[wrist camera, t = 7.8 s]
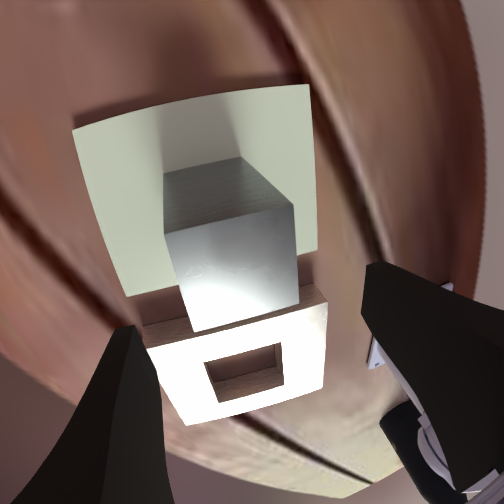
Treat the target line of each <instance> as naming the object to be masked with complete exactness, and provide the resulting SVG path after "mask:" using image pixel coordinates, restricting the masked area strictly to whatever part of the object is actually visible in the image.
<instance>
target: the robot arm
mask: <svg viewBox="0 0 504 504" xmlns="http://www.w3.org/2000/svg"><path fill="white" fill-rule="evenodd" d="M452 289H453V284H452V283H451V282H450V283H447V284H445V285H443V286H439V285H437V284H434V283H432V282H430V281H428V280H426V279H424V278H421V277H419V276H417V275H415V274H413V273H411V272H408V271H406V270H404V269H402V268H400V267H397V266H395V265H393V264H390V263H387V262H385V261H379V262H375V263H372V264H369V265H366V275H365V284H364V292H363V300H362V308H361V315H362V317H363V318H364V320H365V322H366V324H367V326H368V328H369V329H370V331H371V333H372V334H373V336H374V337H373V342H372V346H371V351H370V355H369V360H368V364H367V367H368V369H373V368H376V367H378V366H380V365H382V364H386V365H387V367H388V368H389V369H390V371H391V372H392V373H393V375H394V376H395V378H396V379H397V380H398V382H399V383H400V385H401V386H402V387H403V389H404V390H405V392H406V393H407V394H408V396H409V397H410V399H411V400H412V402H413V403H414V404H415V406H416V407H417V409H418V410H419V412H420V413H421V414H422V416H421V417H420V418H418V421H419V422H420V424H421V425H422V427H420V429H419V430H418V446H419V449H420V451H421V454H422V455H423V457H424V459H425V460H426V462H427V463H428V465H429V466H430V467H431V468H432V469H433V470H434V471H435V472H436V473H437V474H438V475H440V476H441V477H443V478H444V479H445V480H446V481H447V482H448V483H449V484H450V485H451V487H452V488H453V489H455V490H456V491H457V493H458V494H461V493H469V492H478V491H480V492H479V493H478V494H477V495H475V496H474V497H473V498H472V499H470V500H469V501H468V502H466V503H465V504H504V310H500V309H497V308H494V307H491V306H488V305H485V304H482V303H479V302H477V301H474V300H471V299H469V298H467V297H464V296H462V295H459V294H457V293H454V292H452ZM11 504H175V503H174V500H173V496H172V491H171V487H170V483H169V478H168V474H167V467H166V459H165V446H164V432H163V416H162V399H161V393H160V386H159V380H158V374H157V369H156V367H155V365H154V363H153V361H152V359H151V357H150V355H149V353H148V352H147V350H146V347H145V345H144V343H143V341H142V339H141V337H140V335H139V333H138V331H137V329H136V327H135V325H131V326H126V327H122V328H117V329H115V331H114V332H113V334H112V336H111V338H110V340H109V342H108V345H107V347H106V349H105V351H104V353H103V355H102V357H101V359H100V361H99V364H98V366H97V368H96V370H95V372H94V374H93V376H92V378H91V380H90V382H89V384H88V387H87V389H86V391H85V393H84V395H83V396H82V398H81V400H80V402H79V404H78V406H77V408H76V410H75V412H74V414H73V416H72V418H71V419H70V421H69V423H68V425H67V426H66V428H65V430H64V432H63V433H62V435H61V436H60V438H59V440H58V441H57V443H56V445H55V446H54V448H53V449H52V451H51V452H50V454H49V455H48V456H47V458H46V459H45V461H44V462H43V463H42V465H41V466H40V468H39V469H38V471H37V472H36V474H35V475H34V476H33V477H32V479H31V480H30V481H29V483H28V484H27V485H26V486H25V487H24V489H23V490H22V491H21V493H19V495H18V496H17V497H16V498H15V499H14V500H13V501H12V503H11Z"/></svg>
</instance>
